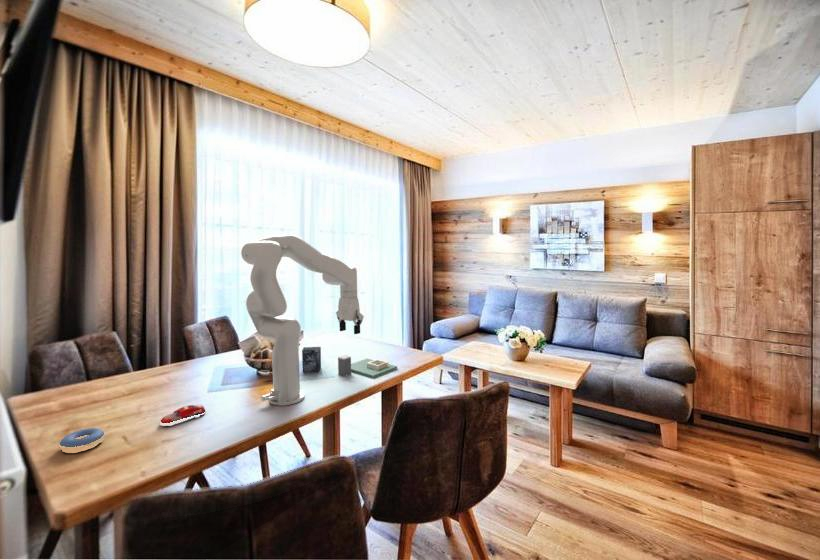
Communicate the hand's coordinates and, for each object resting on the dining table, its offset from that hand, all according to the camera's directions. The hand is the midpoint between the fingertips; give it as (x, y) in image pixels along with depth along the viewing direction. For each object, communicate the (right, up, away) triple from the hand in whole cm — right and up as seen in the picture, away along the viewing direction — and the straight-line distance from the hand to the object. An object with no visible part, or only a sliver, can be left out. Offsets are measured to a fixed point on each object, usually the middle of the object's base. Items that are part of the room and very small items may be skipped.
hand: (349, 332), depth 167 cm
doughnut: (-68, -25, -60) cm, 94 cm away
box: (-19, -19, +5) cm, 27 cm away
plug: (-2, -19, 0) cm, 19 cm away
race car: (-49, -24, -43) cm, 69 cm away
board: (+8, -18, +7) cm, 21 cm away
